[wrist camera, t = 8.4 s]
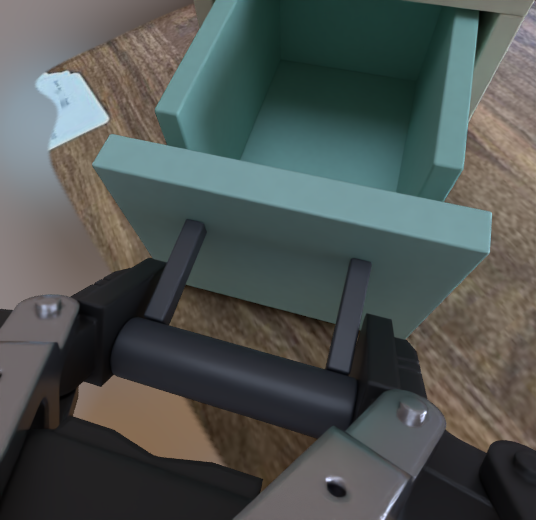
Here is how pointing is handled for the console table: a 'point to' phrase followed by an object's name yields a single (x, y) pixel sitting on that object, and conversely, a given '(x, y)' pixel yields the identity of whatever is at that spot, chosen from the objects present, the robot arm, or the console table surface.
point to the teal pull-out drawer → (300, 192)
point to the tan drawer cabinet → (488, 35)
